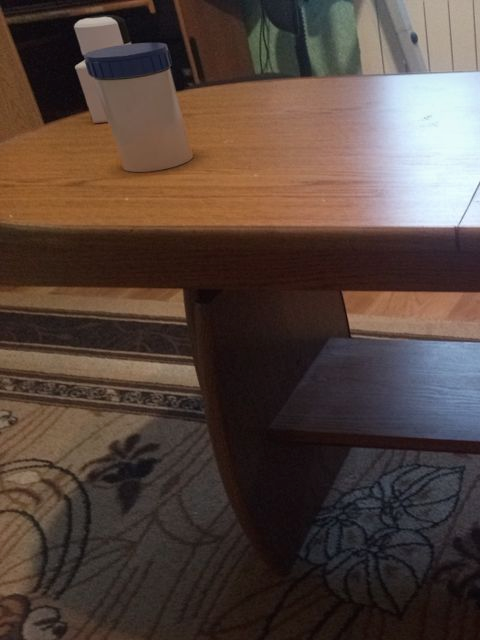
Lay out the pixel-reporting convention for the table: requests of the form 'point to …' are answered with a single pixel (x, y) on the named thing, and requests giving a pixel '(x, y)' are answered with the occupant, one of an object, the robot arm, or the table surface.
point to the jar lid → (128, 60)
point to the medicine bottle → (94, 37)
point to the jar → (145, 121)
